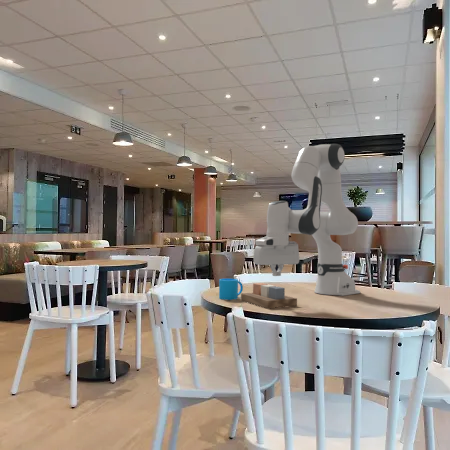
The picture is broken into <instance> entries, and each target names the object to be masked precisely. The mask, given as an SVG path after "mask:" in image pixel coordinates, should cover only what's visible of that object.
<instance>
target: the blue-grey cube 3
mask: <svg viewBox="0 0 450 450" xmlns="http://www.w3.org/2000/svg"><path fill="white" fill-rule="evenodd" d="M285 293H286V291H285V287H281V286H276V287H269V298H271V299H275V300H277V299H284V298H285V296H286V295H285Z"/></svg>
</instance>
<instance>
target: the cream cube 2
mask: <svg viewBox="0 0 450 450" xmlns="http://www.w3.org/2000/svg"><path fill="white" fill-rule="evenodd" d="M269 287H277V286H276V285H272V284H268V285H261V296H264V297H269Z"/></svg>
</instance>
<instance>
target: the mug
mask: <svg viewBox="0 0 450 450" xmlns="http://www.w3.org/2000/svg"><path fill="white" fill-rule="evenodd" d="M218 284H219V285H218V286H219V287H218V289H219V290H218V298H219V300H226V301H227V300H229V301H233V299H234V300H238V299H237V298H238V297H239V296H241V293H242V292H243V290H244V285H243V283H242V282H241V281H239V279H237V278H219V281H218ZM239 286H240V290H239Z"/></svg>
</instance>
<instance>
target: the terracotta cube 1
mask: <svg viewBox="0 0 450 450" xmlns="http://www.w3.org/2000/svg"><path fill="white" fill-rule="evenodd" d="M261 285H269V284H267V283H264V282H256V283H253V284H252V291H253V292H252V293H253V294H256V295H261Z"/></svg>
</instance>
